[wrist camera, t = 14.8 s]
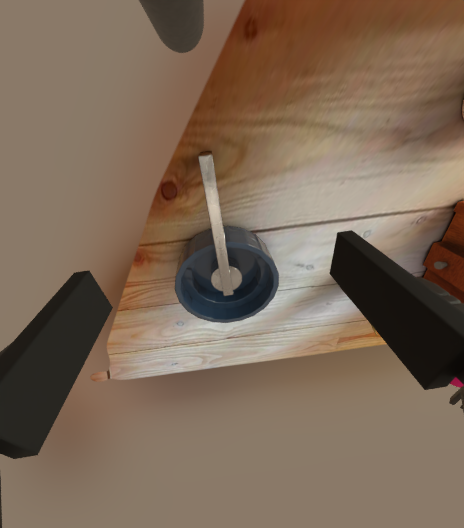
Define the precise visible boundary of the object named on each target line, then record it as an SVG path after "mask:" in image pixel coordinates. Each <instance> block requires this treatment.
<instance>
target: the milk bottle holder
mask: <svg viewBox="0 0 464 528" xmlns="http://www.w3.org/2000/svg"><path fill="white" fill-rule="evenodd" d="M454 211H455V212H456V214H455V216H454V218H453V220H452V222H451V224H450V226H449V228H448V230H447V232H446V233H445V235H444V237H443V239H442V241H441V242H435V243H433V245H432V247H431V249H430V251H429V253H428V256H427V258H426V260H425V262H424V264H423V266H425V267H427V268H428V269H427V271H426V273H425V275H424V277H423V278H424V279H426V280H429V281H431V282H433V283H435V284H437V285H439V286H440V287H441V288H443V289H444V290H446V291H447V292H449V294H450V295H453V296H454V297H456V298H457V299H459V300H460V301H461V303H464V201H461V202H458V203H457V205H456V207H455V209H454Z"/></svg>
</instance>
